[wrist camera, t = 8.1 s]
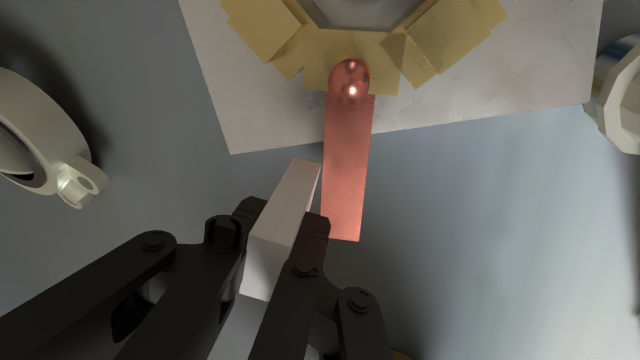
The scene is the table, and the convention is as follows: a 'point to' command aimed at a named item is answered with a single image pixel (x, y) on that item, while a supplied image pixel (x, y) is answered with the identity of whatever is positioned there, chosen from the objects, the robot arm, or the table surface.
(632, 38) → the white handheld device
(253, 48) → the yellow valve with lever
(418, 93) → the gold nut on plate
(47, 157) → the butterfly valve
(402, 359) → the plant pot
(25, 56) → the table surface
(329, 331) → the robot arm
